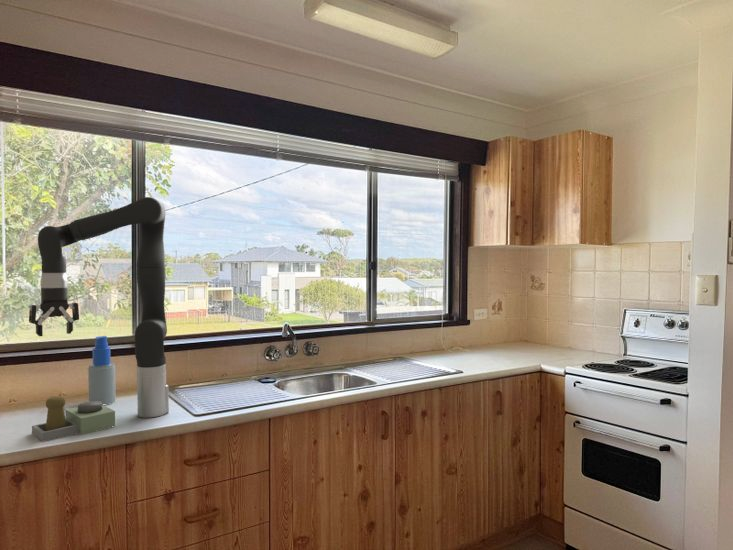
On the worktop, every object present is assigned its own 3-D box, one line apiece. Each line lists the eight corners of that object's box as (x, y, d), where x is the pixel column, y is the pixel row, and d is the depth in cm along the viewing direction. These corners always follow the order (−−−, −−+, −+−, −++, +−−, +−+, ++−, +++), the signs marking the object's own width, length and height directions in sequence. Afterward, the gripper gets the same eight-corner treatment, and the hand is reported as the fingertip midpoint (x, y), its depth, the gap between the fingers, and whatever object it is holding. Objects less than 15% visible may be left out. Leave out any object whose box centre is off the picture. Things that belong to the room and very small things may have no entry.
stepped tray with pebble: (98, 417, 171) (98, 397, 170) (115, 426, 161) (114, 404, 161) (30, 432, 156) (29, 410, 156) (44, 443, 146) (43, 419, 146)
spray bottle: (104, 398, 194) (103, 334, 194) (120, 400, 191) (120, 335, 190) (83, 404, 186) (82, 337, 186) (99, 407, 183) (98, 339, 182)
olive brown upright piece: (71, 428, 158) (70, 394, 158) (60, 435, 152) (60, 399, 152) (51, 429, 158) (51, 394, 158) (40, 435, 152) (39, 399, 151)
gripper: (33, 287, 159) (34, 338, 159) (81, 286, 170) (82, 333, 170) (25, 286, 164) (26, 336, 164) (73, 285, 175) (73, 331, 175)
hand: (54, 334), depth 167 cm, fingers open, 8 cm apart
